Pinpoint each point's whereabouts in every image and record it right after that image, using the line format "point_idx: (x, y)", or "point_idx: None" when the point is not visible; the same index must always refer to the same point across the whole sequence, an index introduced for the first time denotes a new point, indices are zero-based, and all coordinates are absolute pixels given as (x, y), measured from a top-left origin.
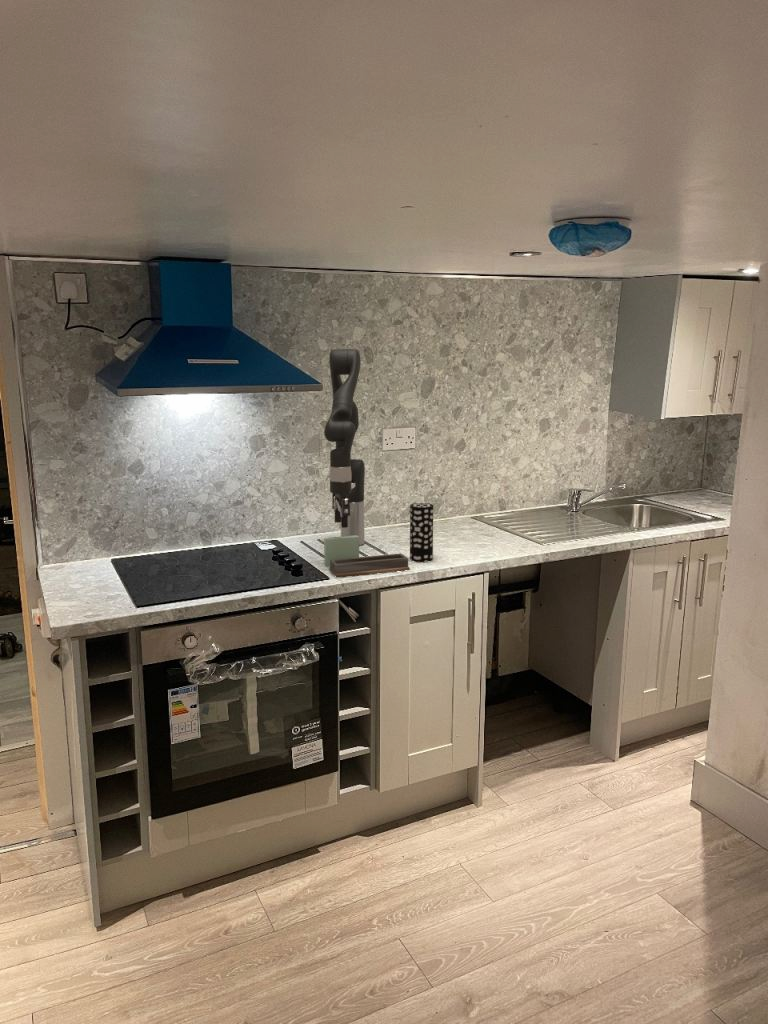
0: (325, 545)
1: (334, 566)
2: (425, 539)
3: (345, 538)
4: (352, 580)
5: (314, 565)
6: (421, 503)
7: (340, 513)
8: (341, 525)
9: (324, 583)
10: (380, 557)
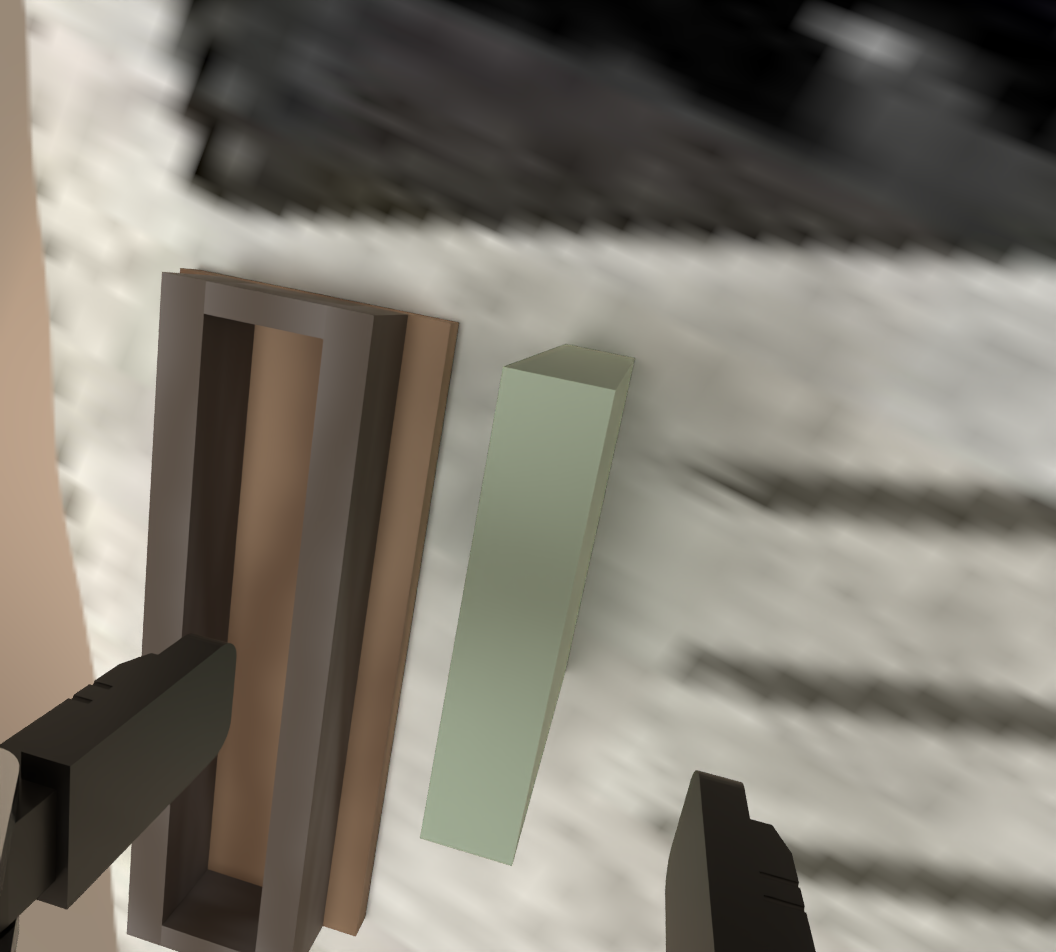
0: (550, 365)
1: (214, 280)
2: None
3: (454, 663)
4: (92, 359)
5: (691, 260)
6: None
7: (7, 833)
8: (181, 646)
9: (97, 92)
10: (277, 793)
